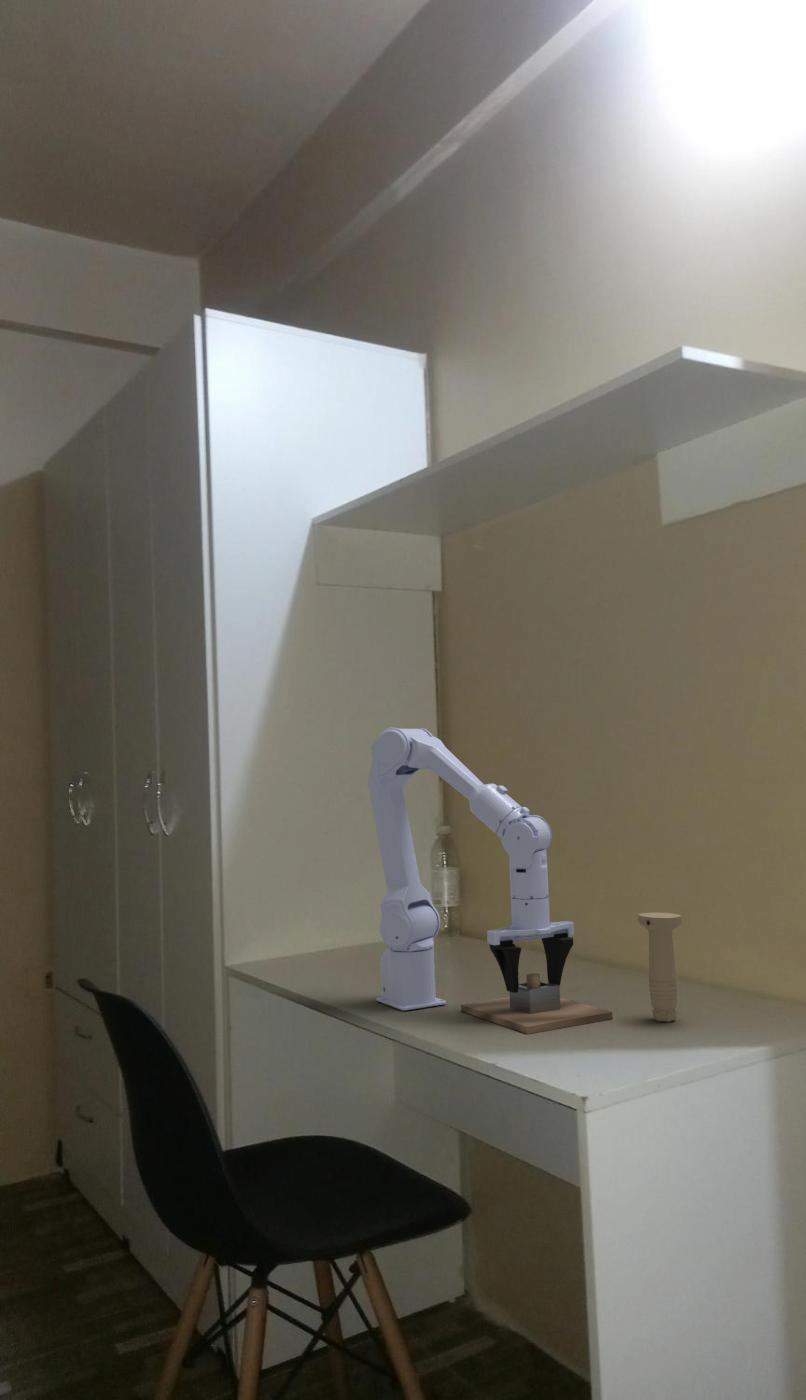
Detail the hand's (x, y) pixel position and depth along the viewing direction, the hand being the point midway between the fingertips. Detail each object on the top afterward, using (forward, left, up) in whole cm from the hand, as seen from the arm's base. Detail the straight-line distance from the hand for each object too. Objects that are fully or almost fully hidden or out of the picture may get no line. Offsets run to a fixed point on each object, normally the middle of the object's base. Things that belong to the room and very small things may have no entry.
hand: (533, 988), depth 168 cm
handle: (+14, +13, -4) cm, 20 cm away
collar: (0, 0, -3) cm, 3 cm away
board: (0, 0, -4) cm, 4 cm away
